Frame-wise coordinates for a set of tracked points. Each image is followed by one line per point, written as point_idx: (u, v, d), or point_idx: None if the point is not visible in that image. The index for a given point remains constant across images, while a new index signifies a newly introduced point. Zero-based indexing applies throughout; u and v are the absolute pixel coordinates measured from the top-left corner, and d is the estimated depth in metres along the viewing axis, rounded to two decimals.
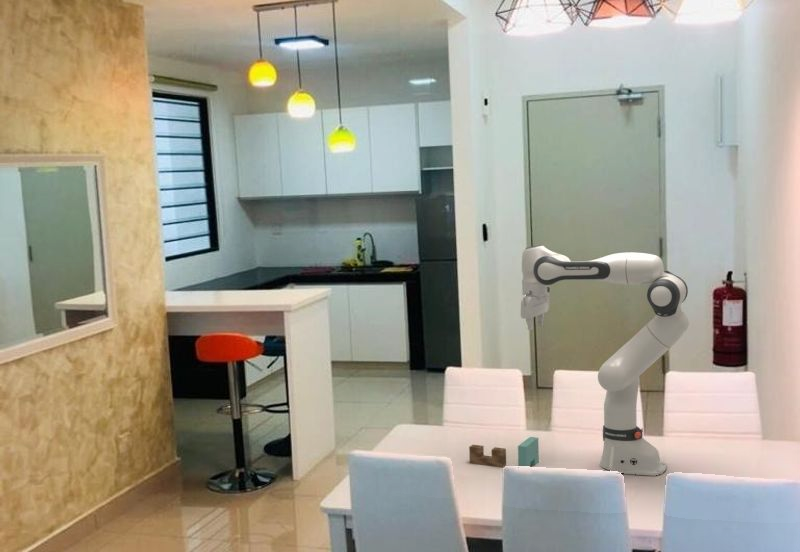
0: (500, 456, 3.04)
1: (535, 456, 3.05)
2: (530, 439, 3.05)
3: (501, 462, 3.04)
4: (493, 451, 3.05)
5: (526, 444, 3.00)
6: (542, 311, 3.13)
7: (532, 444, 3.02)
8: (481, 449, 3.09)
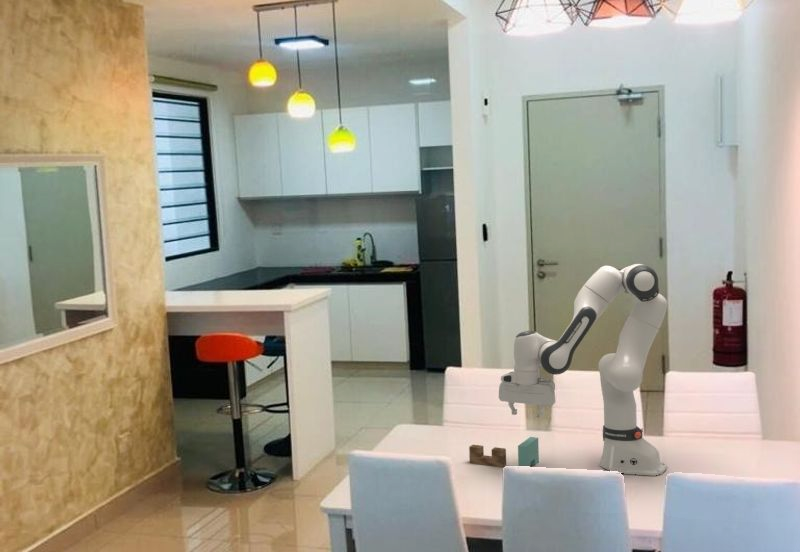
0: (500, 456, 3.04)
1: (535, 456, 3.05)
2: (530, 439, 3.05)
3: (501, 462, 3.04)
4: (493, 451, 3.05)
5: (526, 444, 3.00)
6: None
7: (532, 444, 3.02)
8: (481, 449, 3.09)
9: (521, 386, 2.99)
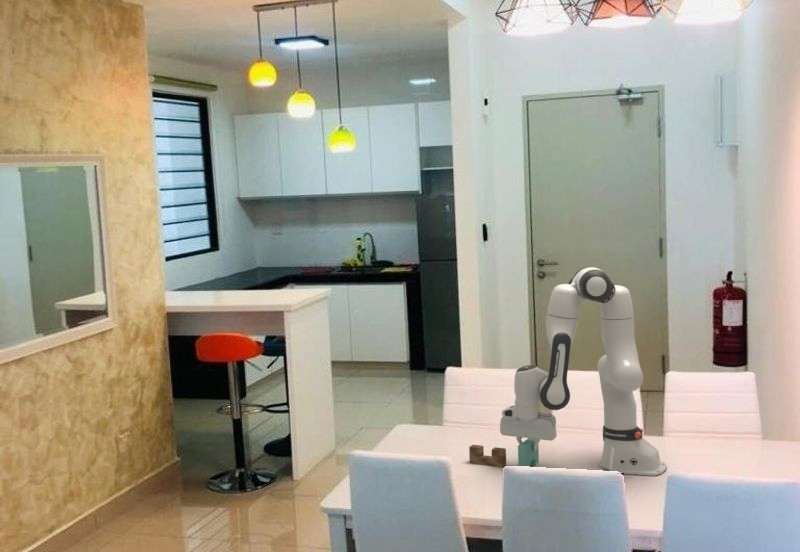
0: (500, 456, 3.04)
1: (535, 456, 3.05)
2: (530, 439, 3.05)
3: (501, 462, 3.04)
4: (493, 451, 3.05)
5: (526, 444, 3.00)
6: None
7: (532, 444, 3.02)
8: (481, 449, 3.09)
9: (522, 421, 3.00)
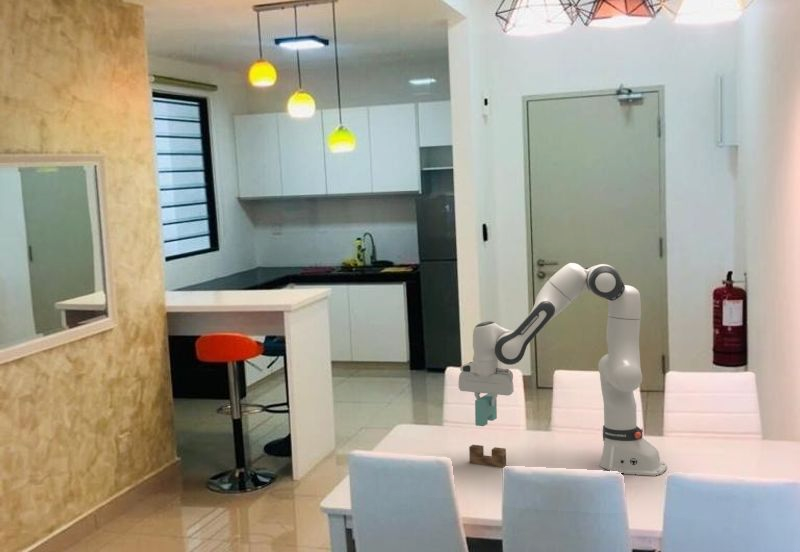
0: (500, 456, 3.04)
1: (493, 412, 3.08)
2: (488, 395, 3.08)
3: (501, 462, 3.04)
4: (493, 451, 3.05)
5: (483, 399, 3.03)
6: None
7: (490, 399, 3.05)
8: (481, 449, 3.09)
9: (480, 376, 3.03)
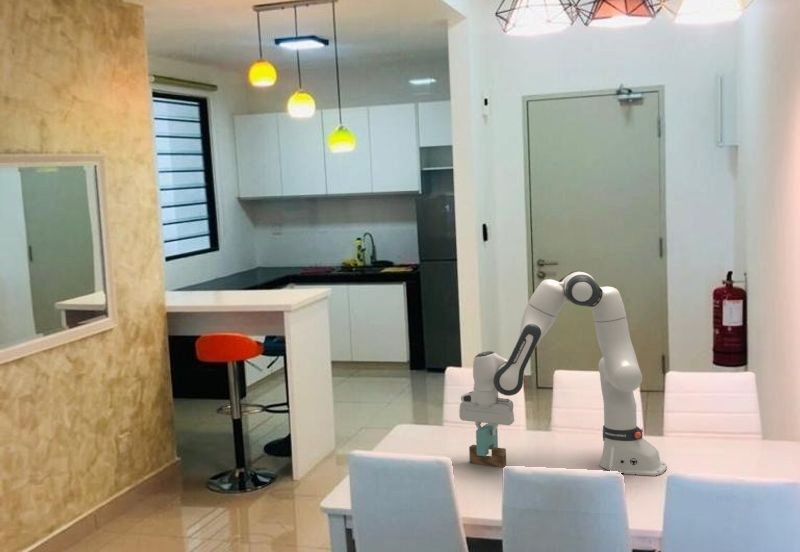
0: (500, 456, 3.04)
1: (494, 441, 3.09)
2: (489, 424, 3.09)
3: (501, 462, 3.04)
4: (493, 451, 3.05)
5: (484, 429, 3.04)
6: None
7: (490, 429, 3.06)
8: None
9: (480, 406, 3.04)
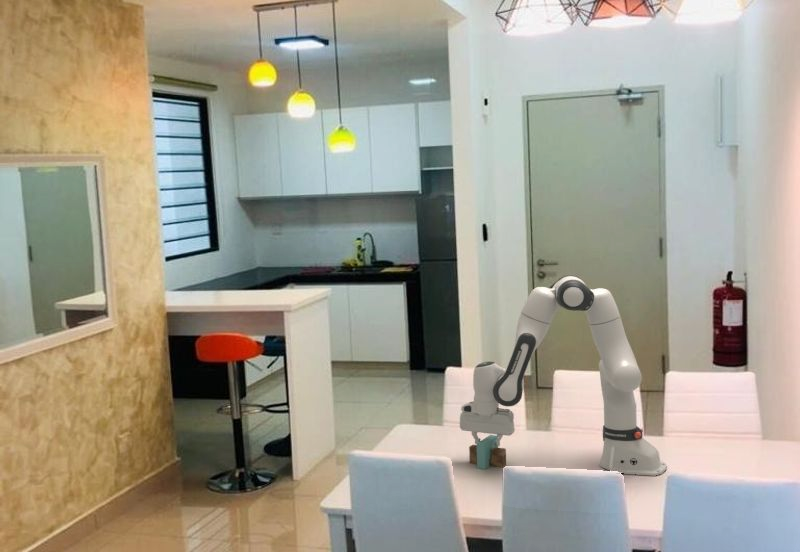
0: (500, 456, 3.04)
1: None
2: (489, 437, 3.10)
3: (501, 462, 3.04)
4: (493, 451, 3.05)
5: (485, 442, 3.04)
6: None
7: (491, 442, 3.07)
8: None
9: (481, 416, 3.04)
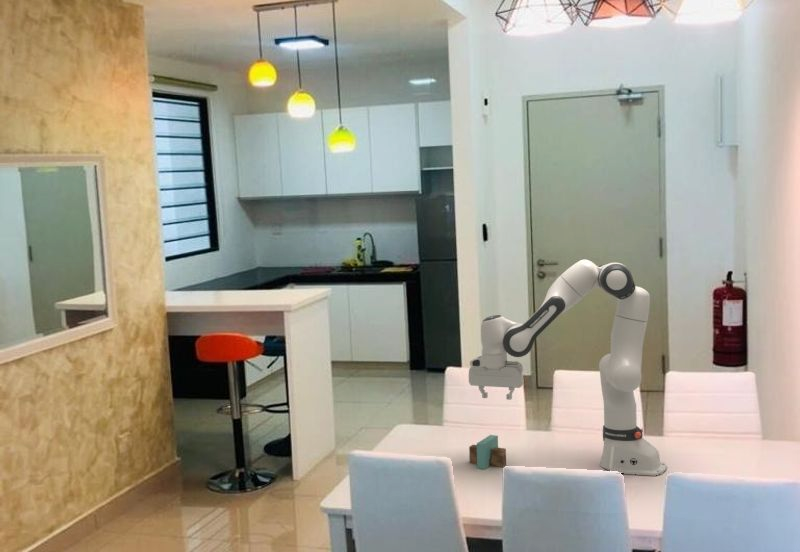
0: (500, 456, 3.04)
1: None
2: (489, 437, 3.10)
3: (501, 462, 3.04)
4: (493, 451, 3.05)
5: (485, 442, 3.04)
6: None
7: (491, 442, 3.07)
8: None
9: (490, 369, 3.04)
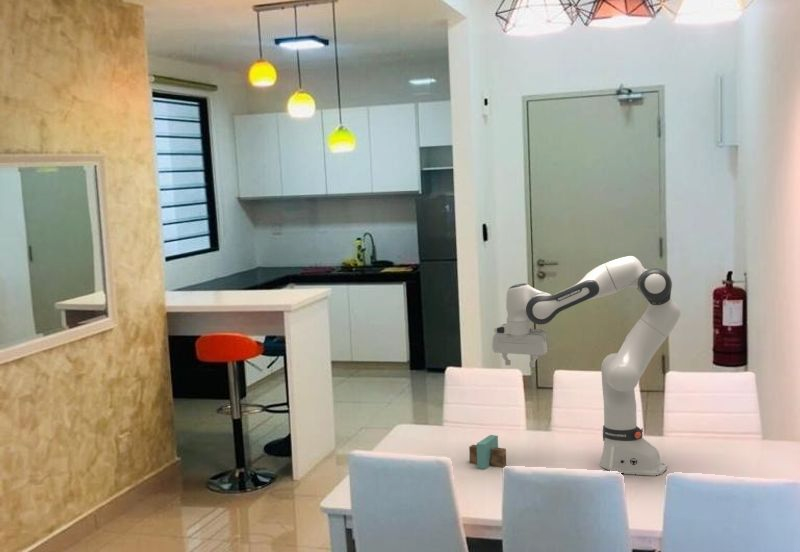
0: (500, 456, 3.04)
1: None
2: (489, 437, 3.10)
3: (501, 462, 3.04)
4: (493, 451, 3.05)
5: (485, 442, 3.04)
6: None
7: (491, 442, 3.07)
8: None
9: (514, 337, 3.08)
